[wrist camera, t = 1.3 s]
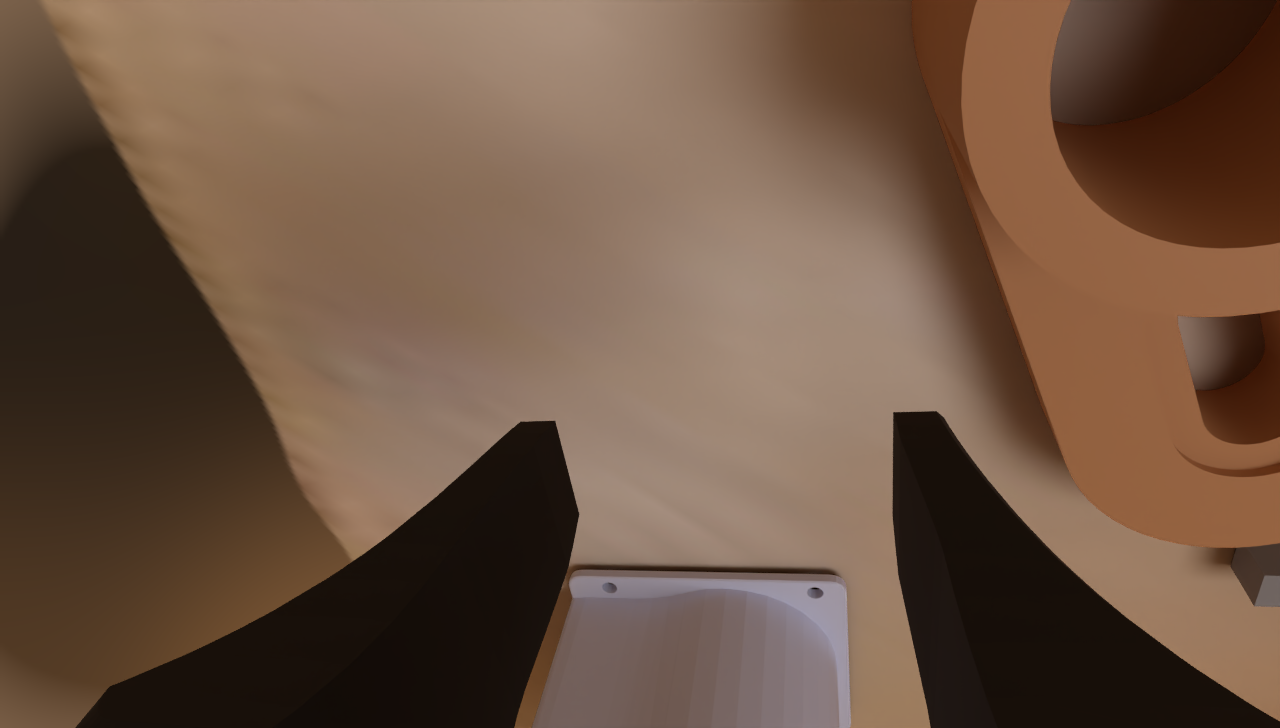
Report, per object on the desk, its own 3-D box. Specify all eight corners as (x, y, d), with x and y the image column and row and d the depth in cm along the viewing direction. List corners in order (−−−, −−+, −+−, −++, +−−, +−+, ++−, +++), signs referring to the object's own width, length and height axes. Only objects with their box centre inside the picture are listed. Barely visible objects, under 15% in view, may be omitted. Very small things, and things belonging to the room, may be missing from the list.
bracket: (853, -114, 16) (879, -97, 11) (1338, -394, 13) (1748, -585, 7) (1077, 507, 24) (1164, 718, 18) (1426, 424, 20) (1669, 648, 15)
